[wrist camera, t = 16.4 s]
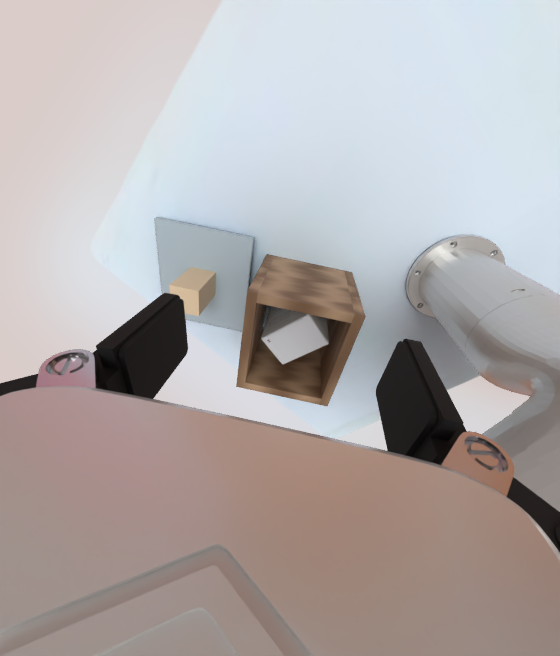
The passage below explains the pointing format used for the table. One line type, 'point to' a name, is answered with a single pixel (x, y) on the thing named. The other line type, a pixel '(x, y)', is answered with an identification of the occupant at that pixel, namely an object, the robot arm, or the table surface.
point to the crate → (306, 297)
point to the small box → (294, 333)
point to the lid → (205, 271)
